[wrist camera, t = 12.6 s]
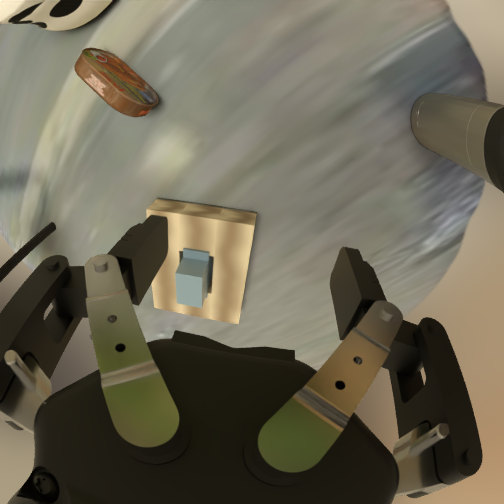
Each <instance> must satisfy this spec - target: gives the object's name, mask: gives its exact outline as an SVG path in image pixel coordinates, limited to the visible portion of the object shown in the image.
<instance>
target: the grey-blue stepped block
mask: <svg viewBox="0 0 504 504" xmlns="http://www.w3.org/2000/svg"><path fill="white" fill-rule="evenodd" d="M212 267H213V257H212V256H209V251H203V250H197V249H191V248H183V258H182V260H181V262H180V264H179V266H178V268H177V270H176V272H175V280H176V297H177V304H183V305H188V306H193V307H198V308H202V306H203V303H204V300H205V298H207V296H208V287H209V284H210V281H211V278H212Z"/></svg>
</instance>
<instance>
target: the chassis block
mask: <svg viewBox="0 0 504 504" xmlns="http://www.w3.org/2000/svg"><path fill="white" fill-rule="evenodd" d="M150 215H158V216H165V217H167V219H168V253H167V257H166V259H165V261H164V263H163V264H162V266H161V268H160V269H159V271H158V273H157V274H156V276H155V278H154V280H153V281H152V290H153V299H154V307H155V308H160V309H164V310H168V311H173V312H178V313H182V314H187V315H192V316H197V317H202V318H208V319H213V320H218V321H224V322H230V323H235V324H239V318H240V312H241V306H242V300H243V294H244V288H245V281H246V275H247V269H248V263H249V257H250V251H251V245H252V240H253V234H254V228H255V222H256V216H257V212H251V211H245V210H239V209H233V208H226V207H220V206H213V205H206V204H199V203H192V202H185V201H178V200H170V199H163V198H157V199H156V200H155V201H154V202H153V203H152V204H151V205H150V206H149V207H148V208H147V218H148V217H149V216H150ZM183 248H191V249H197V250H203V251H209V256H212V257H213V267H212V278H211V281H210V284H209V287H208V296H207V298H205V300H204V303H203V306H202V308H198V307H193V306H188V305H183V304H177V297H176V280H175V272H176V270H177V268H178V266H179V264H180V262H181V260H182V258H183Z"/></svg>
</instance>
